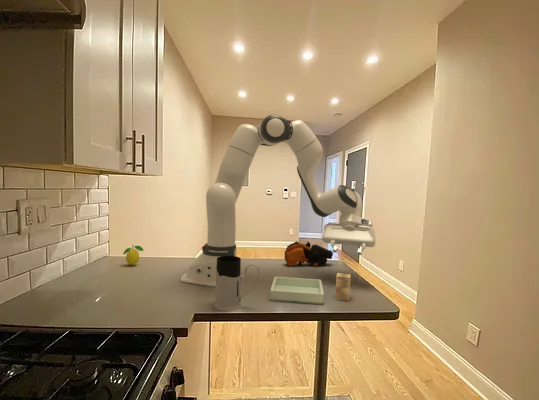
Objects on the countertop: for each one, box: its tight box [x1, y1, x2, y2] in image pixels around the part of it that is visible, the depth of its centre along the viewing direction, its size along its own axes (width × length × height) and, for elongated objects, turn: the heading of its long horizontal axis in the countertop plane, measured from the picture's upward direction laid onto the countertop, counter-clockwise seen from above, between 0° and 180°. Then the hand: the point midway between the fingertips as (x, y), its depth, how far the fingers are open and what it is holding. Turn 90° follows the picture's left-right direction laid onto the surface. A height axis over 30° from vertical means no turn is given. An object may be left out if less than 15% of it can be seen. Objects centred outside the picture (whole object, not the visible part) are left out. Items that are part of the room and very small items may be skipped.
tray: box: [269, 276, 325, 306], centre depth 107 cm, size 18×16×4 cm
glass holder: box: [213, 255, 260, 312], centre depth 95 cm, size 9×14×15 cm, turn 82°
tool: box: [284, 240, 334, 267], centre depth 147 cm, size 8×23×15 cm, turn 100°
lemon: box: [123, 245, 145, 267], centre depth 137 cm, size 7×6×10 cm
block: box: [334, 272, 352, 302], centre depth 105 cm, size 4×4×8 cm
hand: (346, 252), depth 115 cm, fingers open, 8 cm apart
